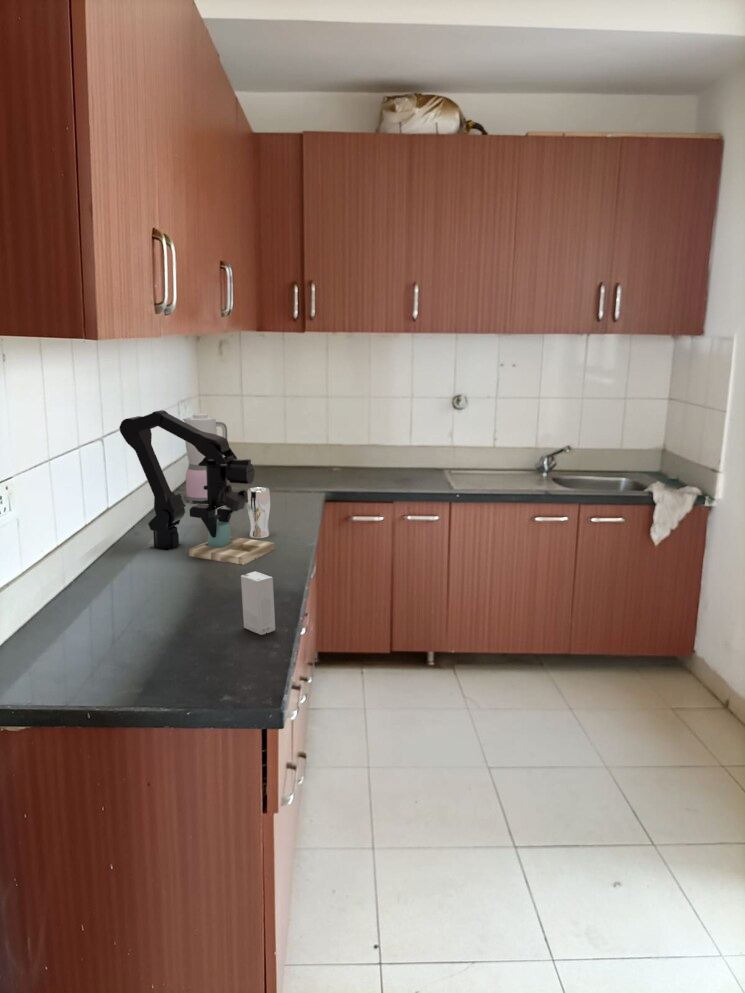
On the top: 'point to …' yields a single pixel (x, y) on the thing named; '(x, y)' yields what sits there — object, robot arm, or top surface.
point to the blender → (199, 457)
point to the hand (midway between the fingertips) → (218, 535)
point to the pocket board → (233, 550)
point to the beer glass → (259, 511)
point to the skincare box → (258, 602)
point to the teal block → (220, 535)
